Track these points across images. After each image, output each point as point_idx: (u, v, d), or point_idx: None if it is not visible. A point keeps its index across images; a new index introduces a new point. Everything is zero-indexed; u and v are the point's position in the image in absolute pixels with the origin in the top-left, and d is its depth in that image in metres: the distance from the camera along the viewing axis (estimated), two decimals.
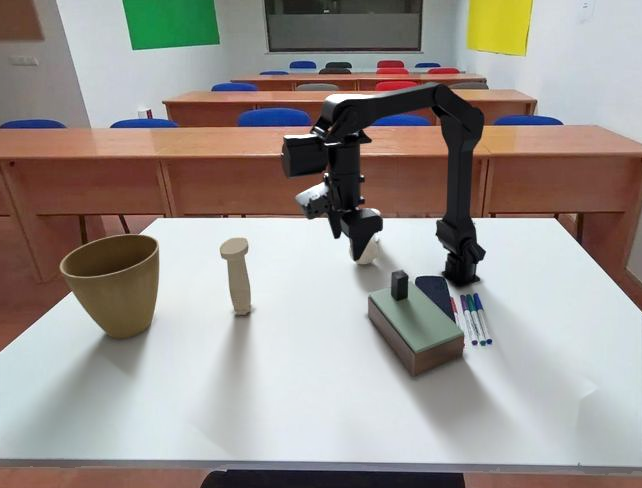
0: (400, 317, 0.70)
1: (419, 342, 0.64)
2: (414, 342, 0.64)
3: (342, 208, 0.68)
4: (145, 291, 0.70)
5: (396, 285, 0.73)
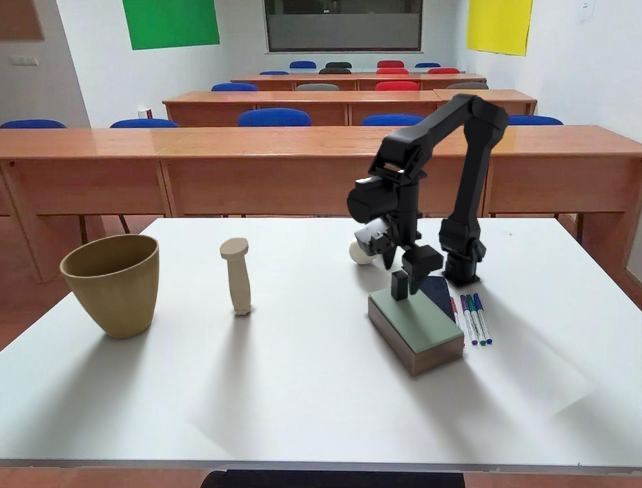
0: (400, 317, 0.70)
1: (419, 342, 0.64)
2: (414, 342, 0.64)
3: (400, 244, 0.69)
4: (145, 291, 0.70)
5: (396, 285, 0.73)
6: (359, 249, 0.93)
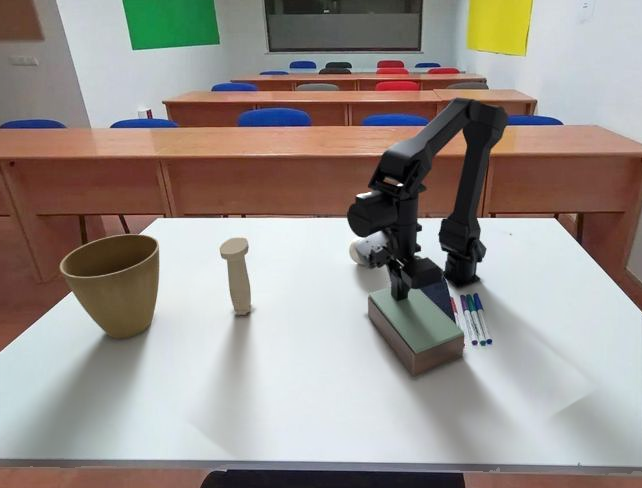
0: (400, 317, 0.70)
1: (419, 342, 0.64)
2: (414, 342, 0.64)
3: (400, 257, 0.69)
4: (145, 291, 0.70)
5: (396, 285, 0.73)
6: None
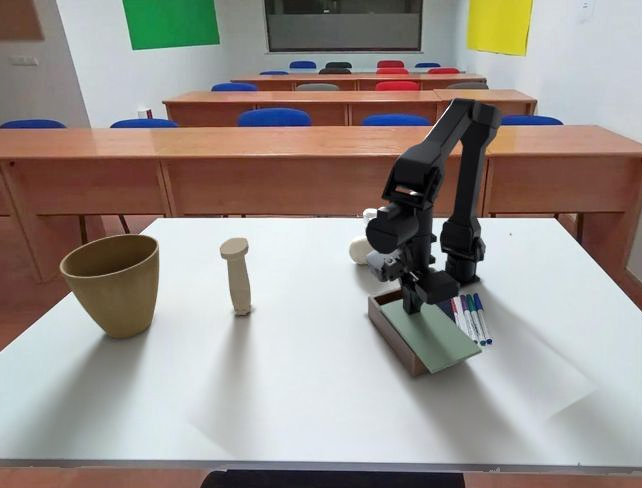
0: (414, 333, 0.66)
1: (435, 361, 0.60)
2: (430, 361, 0.60)
3: (414, 269, 0.66)
4: (145, 291, 0.70)
5: (409, 298, 0.69)
6: (359, 249, 0.93)
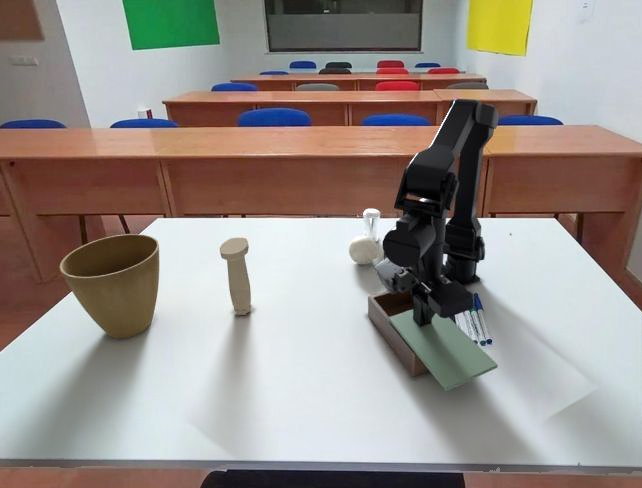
0: (425, 346, 0.63)
1: (449, 377, 0.57)
2: (443, 378, 0.57)
3: (425, 279, 0.63)
4: (145, 291, 0.70)
5: (419, 309, 0.67)
6: (359, 249, 0.93)
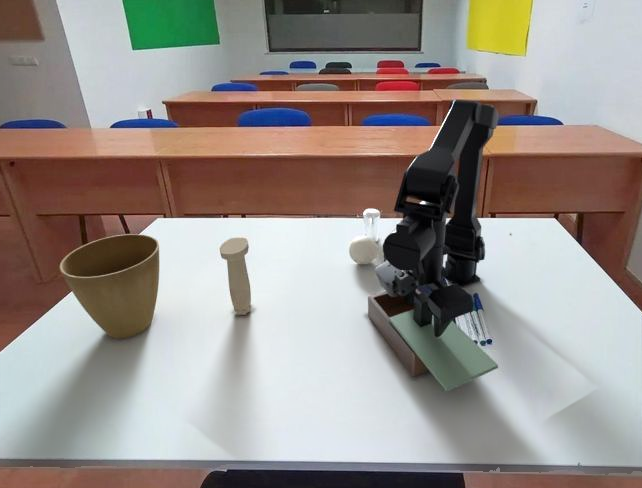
0: (425, 347, 0.63)
1: (449, 377, 0.57)
2: (444, 378, 0.57)
3: (425, 282, 0.63)
4: (145, 291, 0.70)
5: (420, 310, 0.66)
6: (359, 249, 0.93)
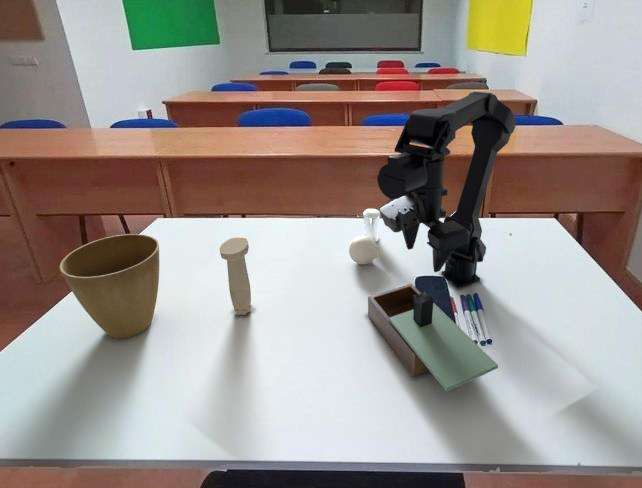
0: (425, 347, 0.63)
1: (449, 377, 0.57)
2: (444, 378, 0.57)
3: (425, 221, 0.69)
4: (145, 291, 0.70)
5: (420, 310, 0.66)
6: (359, 249, 0.93)
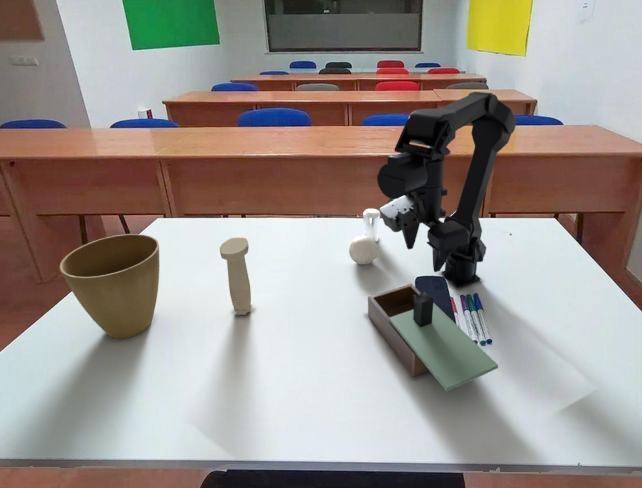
0: (425, 347, 0.63)
1: (449, 377, 0.57)
2: (444, 378, 0.57)
3: (425, 220, 0.69)
4: (145, 291, 0.70)
5: (420, 310, 0.66)
6: (359, 249, 0.93)
